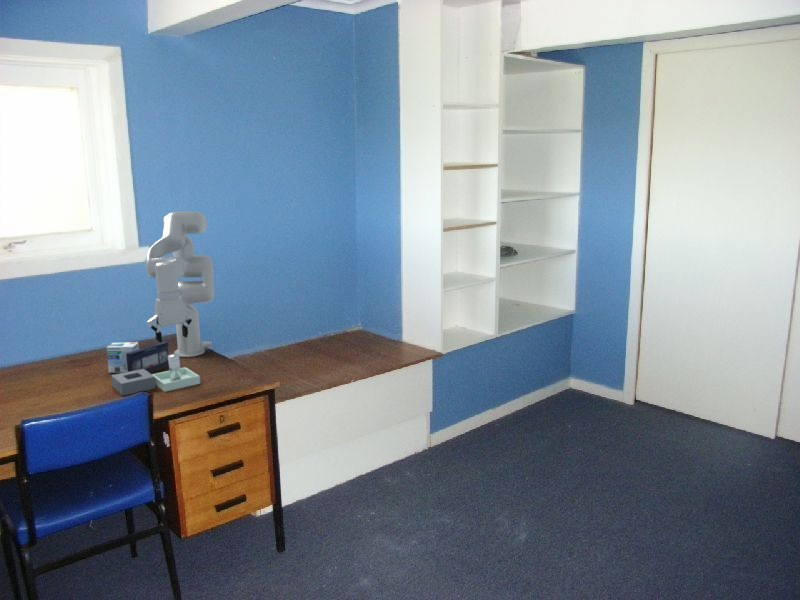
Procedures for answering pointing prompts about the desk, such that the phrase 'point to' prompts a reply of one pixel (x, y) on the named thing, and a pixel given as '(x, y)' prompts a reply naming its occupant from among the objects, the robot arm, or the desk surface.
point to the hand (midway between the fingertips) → (172, 339)
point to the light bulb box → (119, 356)
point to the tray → (186, 380)
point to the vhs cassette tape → (148, 358)
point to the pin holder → (133, 381)
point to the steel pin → (174, 367)
